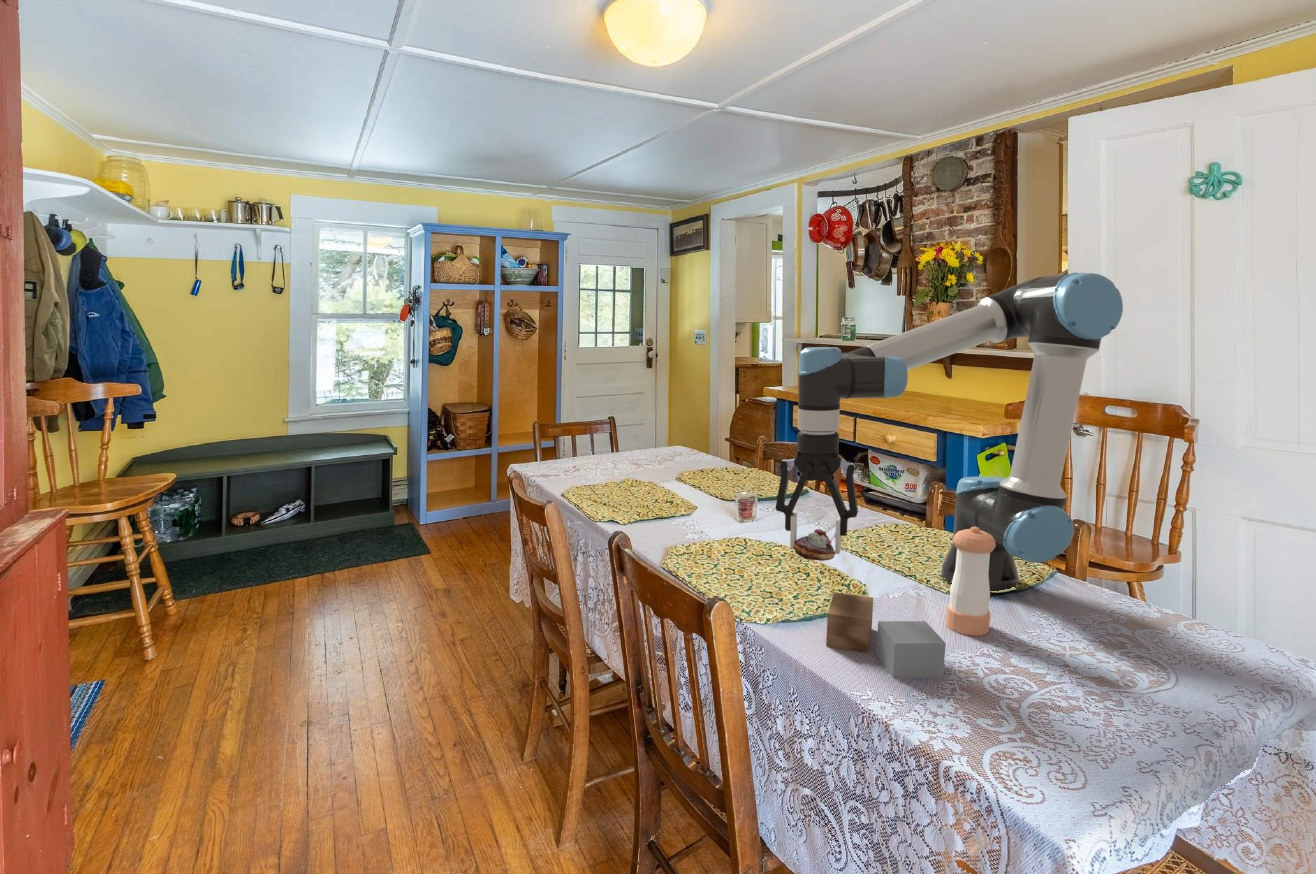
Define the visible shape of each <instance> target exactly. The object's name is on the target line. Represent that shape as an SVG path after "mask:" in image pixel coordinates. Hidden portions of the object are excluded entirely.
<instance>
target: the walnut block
mask: <svg viewBox="0 0 1316 874" xmlns="http://www.w3.org/2000/svg"><path fill="white" fill-rule="evenodd" d="M831 598H832V599H831V602H830V604H829V607H828V611H827V622H826V641H825V644H826V645H825V646H826V647H830V648H831V647H832V648H835V649H836V648H837V649H844V650H848V651H855V652H856V651H857V652H862V653H867V654H868V653H869V649H870V643H871V642H870V641H871V635H872V629H873V626H872V625H873V612H874V611H873V610H874V597H872V596H864V595H857V594H850V593H843V592H842V593H841V592H837V591H836V592H833V595H832V597H831Z"/></svg>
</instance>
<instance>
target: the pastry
mask: <svg viewBox="0 0 1316 874" xmlns="http://www.w3.org/2000/svg"><path fill="white" fill-rule="evenodd" d="M793 548H794V549H793V550H794V552H795V553H796V555H798V556H800V557H801V558H803V559H805V560H809V561H810V560H811V561H818V562H819V561H821V562H823V561H830V560H832V559H834V558H835V555H836V554H835V548H834V547H833V545H832V540H830V538H829V536H828V535H827V533H826V531H825V530H822V529H820V528H817V529H814V531H813V532H809V534H808V535H805V536H803V537H799V538H797V540H796V541H795V543H794V546H793Z"/></svg>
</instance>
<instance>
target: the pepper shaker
mask: <svg viewBox="0 0 1316 874" xmlns="http://www.w3.org/2000/svg"><path fill="white" fill-rule="evenodd" d="M953 542H954V545H955V547H957V556H956V568H955V572H954V576H953V580H952V584H950V591H949V593H950V594H949V603H948V604H947V606H946V617H945V618H946V619H945V625H946V626H947V628H948V629H950V630H952V631H953V632H956V633H958V634H961V635H966V636H972V637H973V636H975V637H976V636H984V635H986V634H988V633H989V632H990V621H991V612H990V610H989V609H990V608H989V606H990V599H991V593H990V588H989V576H988V572H989V559H990V552H992V551H993V550H994V548H995V546H996V544H995V540H994V538H993V536H992V535H990V534H988V533H986V532H984V531H981V530H980V529H979V528H978V527H971V529H965V530H961V531H958V532H957V533H956V534H955V535H954V538H953V537H952V543H953Z"/></svg>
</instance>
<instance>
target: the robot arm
mask: <svg viewBox="0 0 1316 874" xmlns="http://www.w3.org/2000/svg"><path fill="white" fill-rule="evenodd" d="M1123 303H1124V302H1123V297H1122V295H1121V292H1120V290H1119V289H1118V288H1117V287H1116V285H1115V283H1114V282H1113V281H1112V280H1111V279H1109V278H1108V277H1106V276H1104V275H1102V274H1100V273H1099V274H1098V273H1093V272H1072V273H1066V274H1059V275H1051V276H1040V277H1035V278H1031V279H1028V280H1025V281H1023V282H1021V283H1018V284H1016V285H1013V286H1011V287H1008V288H1006V289H1004V290H1001V291H998V292H997V293H994V294H992V295H989V296H987V297H983V298H982V299H980V300H979V301H978V303H977V305H976V306H973V307H971V308H967V309H965V310H962V311H959V312H957V313H954V314H951V315H948V316H945V317H943V318H940V319H936V320H934V321H932V322H929V323H926V324H924V325H921V326H918V327H915V328H912V329H910V330H907V331H904V332H902V333H899V334H895V335H893V336H890V337H888V338H885V339H882V340H880V341H877V342H874V343H872V344H869V345H866V346H864V347H861V348H858V349H855V350H852V351H849V352H842V350H841V348H839V347H836V346H835V347H834V346H833V347H831V346H829V347H828V346H825V347H824V346H820V347H819V346H817V347H805V348H803V349H801V350H800V352H799V358H798V359H799V360H798V371H797V377H798V379H797V380H798V382H797V383H798V385H797V386H798V392H797V393H798V395H797V397H798V399H797V400H798V403H797V405H798V406H797V429H798V430H799V431H798V432H797V433H796V434H797V442H796V443H797V444H796V451H797V452H796V456H795V457H794V458H792V459H787V458H783V459H782V460H781V461H780V463H779V466H780V472H781V474H780V475H781V476H780V479H779V480H780V482H779V486H778V492H777V498H776V502H775V503H776V505H775V510H776V511H777V512H781V513H783V514H784V517H785V518H784V519H785V520H784V522H785V524H784V529H785V531H786V532H790V534H789V535H790V538H789V539H790V540H789V541H790V543H789V549H790V550H794V548H793V546H794V543H795V541H796V540H798V538H797V537H798V536H797V533H798V512H794V509H795V508H796V505H797V504H798V501H799V498H800V496H801V495H802V492H803V490H804V489H805V487H806V483H807V482H808V481H809V482H815V481H819V482H822V483H823V482H824V483H825V484H826V487H827V488H828V491H829V493H830V496H831V498H832V501H833V503H834V505H835V508H836V511H837V513H838V515H839V516H838V515H837V516H836V519H835V541H834V542H835V545H834V547H835V548H834V551H835V555H840V554H841V550H842V549H841V547H842V537H846V536H847V533H848V522H849V521H848V520H849V519H851V518H857V516H858V512H859V509H858V499H857V491H856V486H855V478H854V474H855V470H856V463H855V462H845V461H842V460H841V458H840V455H839V448H840V447H839V446H840V445H839V444H840V441H839V440H840V434H839V433H838V430H839V429H840V412H841V411H840V410H841V400H842V399H845V400H846V399H880V398H882V399H883V400H885V399H887V398H898V397H901V396H902V395H903V394H904V392H905V391H906V389H907V385H908V379H909V378H908V375H909V374H908V371H910V370H912V369H916V368H917V367H918V368H919V367H920V366H921V367H922V366H924V365H927V364H929V363H932V362H935V361H938V360H940V359H943V358H945V357H948V356H952V355H954V354H957V353H959V352H962V351H965V350H968V349H971V348H974V347H977V346H979V345H982V344H985V343H987V342H989V341H990V342H992V343H995V344H998V343H999V344H1000V343H1002V342H1005V341H1007V340H1011V339H1017V338H1026V337H1028V340H1027V346H1028V347H1029V348H1030V349H1031V351H1032V352H1033V355H1034V357H1033V361H1032V366H1031V370H1030V375H1029V381H1028V384H1027V385H1028V386H1027V391H1026V393H1025V394H1026V395H1025V399H1024V403H1023V404H1024V405H1023V410H1022V414H1021V419H1020V425H1019V429H1018V432H1017V433H1018V434H1017V439H1016V443H1015V444H1016V445H1015V449H1014V453H1013V457H1012V458H1013V459H1012V464H1011V468H1010V473H1009V476H1008V477H1002V476H1000V477H999V476H966V477H963V478H961V479H959V481H958V483H957V487H956V492H955V496H956V497H955V508H954V520H953V534H952V535H953V537H952V539H953V538H954V535H955V534H956V533H957V532H958V531H961V530H965V529H971V527H978V528H979V529H980V530H981V531H984V532H986V533H988V534H990V535H992V536H993V538H994V540H995V544H996V546H995V548H994V550H993V551H992V552H990V559H989V572H988V576H989V588H990V591H999V590H1005V589H1010V588H1012V587H1015V586H1016V585H1017V584H1018V585H1019V576H1020V575H1019V572H1018V568H1017V564H1016V561H1015V558H1018V559H1021V560H1023V561H1025V562H1028V563H1036V564H1037V563H1045V562H1049V561H1051V560H1054V559H1055V558H1056V557H1057V556H1059V555H1061V554H1063V553H1064V551H1066V549H1067V548H1068V547H1069V545H1070V544H1071V542H1072V540H1073V536H1074V531H1075V525H1074V522H1073V520H1072V519H1071V517H1070V515H1069V514H1068V513H1067V511H1065V506H1066V502H1067V498H1068V495H1067V493H1066V492H1065V491H1064V489H1063V487H1062V486H1061V482H1062V481H1061V480H1062V476H1063V472H1064V467H1065V463H1066V458H1067V454H1068V449H1069V445H1070V439H1071V436H1072V430H1073V426H1074V422H1075V416H1076V412H1077V407H1078V403H1079V398H1080V393H1081V388H1082V383H1083V380H1084V375H1085V371H1086V366H1087V360H1089V359H1090V358H1091V357H1092V356H1094V355H1095V354H1096V353H1098V352H1099V351H1100V347H1101V342H1102V339H1103V338H1104V337H1106V336H1109V334H1111V333H1112V332H1111V331H1113V330H1115V329H1116V328H1117V327H1118V325H1119V324H1120V321H1121V319H1122V316H1123V313H1124V312H1123V311H1124V309H1123V308H1124V304H1123ZM794 466H796V468H797V470H798V471H799V472H800V473H801V476H800V477H799V480H798V483H797V484H796V487H795V488H794V491H793V493H792V495H791V498H790V500H789V501H788V504H786V497H787V492H788V486H789V480H790V473H791V471H792V470H793V469H794ZM839 468H840V469H841V471H842V474H843V475H845V484H846V485H845V486H846V492H847V499H848V506H849V507H848V508H849V509H847V507H846V505H845V502H844V500H843V497H842V495H841V492H840V489H839V487H838V485H837V484H838V483H837V481H836V479H835V476H834V474H835V473H836V472H837V470H839ZM956 556H957V547H955V545H954V542H953V541H952V543H951V546H950V548H949V550H948V552H947V554H946V557H945V559H944V561H943V563H942V567H941V577H942V576H943V577H944V578H945V579H946V580H947V581H948V582H951V583H952V580H953V576H954V572H955V568H956ZM947 581H946V582H947ZM948 582H947V583H948Z"/></svg>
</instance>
